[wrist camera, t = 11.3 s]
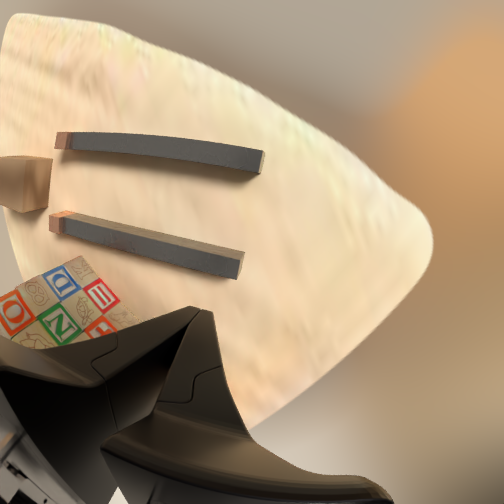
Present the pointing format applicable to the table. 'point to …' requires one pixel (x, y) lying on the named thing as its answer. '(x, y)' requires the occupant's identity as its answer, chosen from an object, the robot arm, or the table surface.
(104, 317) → the stack of blocks
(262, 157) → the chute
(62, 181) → the table surface
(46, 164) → the walnut block
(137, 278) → the table surface
